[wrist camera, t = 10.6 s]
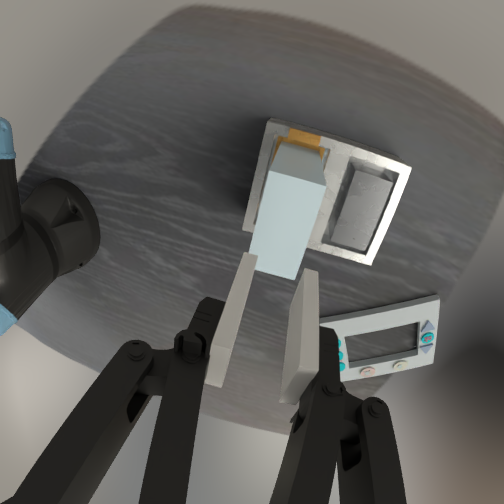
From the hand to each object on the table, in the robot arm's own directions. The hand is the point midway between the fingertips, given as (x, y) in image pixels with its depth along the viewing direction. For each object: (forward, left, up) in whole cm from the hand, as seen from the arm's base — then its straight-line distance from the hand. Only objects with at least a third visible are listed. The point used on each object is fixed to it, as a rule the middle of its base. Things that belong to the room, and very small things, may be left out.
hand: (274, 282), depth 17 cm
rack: (+4, 0, -21) cm, 21 cm away
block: (0, 0, -18) cm, 18 cm away
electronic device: (+21, -21, -21) cm, 37 cm away
